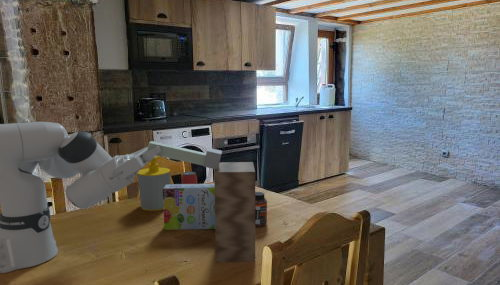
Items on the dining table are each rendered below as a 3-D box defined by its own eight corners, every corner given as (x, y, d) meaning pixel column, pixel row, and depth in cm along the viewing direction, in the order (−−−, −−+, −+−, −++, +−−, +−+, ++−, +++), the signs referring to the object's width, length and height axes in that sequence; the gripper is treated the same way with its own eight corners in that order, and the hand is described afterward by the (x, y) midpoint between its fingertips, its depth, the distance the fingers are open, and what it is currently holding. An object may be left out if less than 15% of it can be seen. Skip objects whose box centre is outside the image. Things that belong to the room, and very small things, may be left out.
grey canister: (143, 213, 138) (140, 159, 135) (135, 203, 150) (132, 154, 146) (176, 207, 145) (174, 156, 141) (166, 198, 156) (164, 151, 152)
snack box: (226, 223, 129) (225, 182, 126) (225, 229, 123) (225, 187, 121) (167, 224, 128) (165, 183, 126) (163, 230, 123) (161, 188, 120)
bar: (145, 153, 97) (148, 137, 97) (150, 150, 102) (153, 135, 102) (217, 169, 99) (221, 154, 98) (218, 165, 104) (222, 150, 103)
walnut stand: (216, 262, 100) (214, 172, 96) (217, 243, 112) (216, 162, 108) (255, 261, 101) (255, 171, 97) (253, 242, 113) (252, 162, 108)
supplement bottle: (261, 228, 124) (261, 197, 122) (246, 225, 127) (246, 194, 125) (269, 222, 129) (270, 192, 127) (255, 219, 132) (255, 189, 130)
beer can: (194, 202, 151) (193, 175, 149) (179, 201, 152) (178, 174, 150) (199, 198, 157) (199, 171, 155) (185, 197, 158) (184, 170, 156)
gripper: (99, 170, 90) (146, 143, 89) (125, 155, 110) (163, 132, 109) (113, 191, 91) (160, 164, 90) (136, 172, 111) (174, 149, 110)
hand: (162, 146), depth 100 cm, fingers closed on bar, 3 cm apart
